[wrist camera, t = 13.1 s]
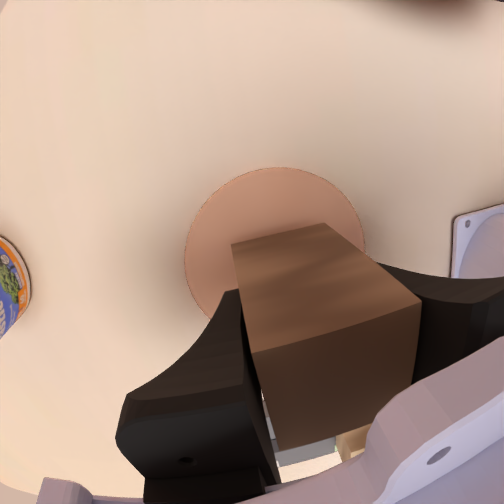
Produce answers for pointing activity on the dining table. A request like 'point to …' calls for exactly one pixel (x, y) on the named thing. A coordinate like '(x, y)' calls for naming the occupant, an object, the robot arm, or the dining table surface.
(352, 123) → the dining table surface
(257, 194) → the coaster
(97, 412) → the dining table surface
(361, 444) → the switch tab
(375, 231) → the dining table surface
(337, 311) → the block
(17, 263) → the pill bottle
